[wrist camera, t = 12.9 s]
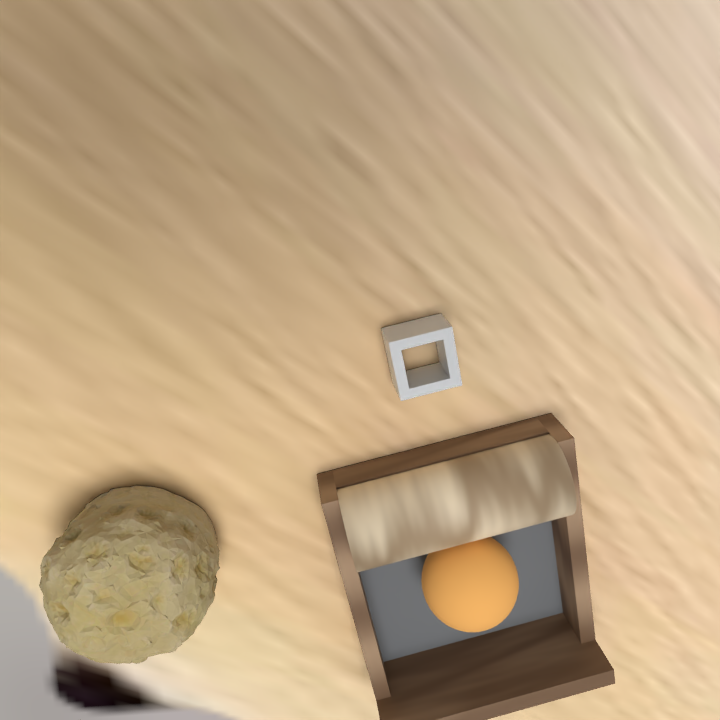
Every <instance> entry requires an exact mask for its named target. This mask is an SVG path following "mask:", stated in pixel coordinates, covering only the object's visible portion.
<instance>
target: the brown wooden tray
mask: <svg viewBox="0 0 720 720" xmlns="http://www.w3.org/2000/svg"><path fill="white" fill-rule="evenodd" d="M534 419H535V420H536V421H535V420H534ZM533 420H534V421H533ZM531 421H532V422H531ZM526 422H527V423H526ZM503 427H504V428H503ZM508 427H509V428H508ZM502 428H503V429H502ZM500 429H501V430H500ZM493 430H494V431H493ZM317 479H318V485H319V492H320V498H321V505H322V508H323V512H324V515H325V519H326V522H327V526H328V530H329V533H330V537H331V540H332V544H333V547H334V551H335V555H336V558H337V562H338V565H339V569H340V572H341V576H342V580H343V583H344V587H345V590H346V594H347V597H348V601H349V605H350V608H351V612H352V615H353V619H354V622H355V626H356V630H357V633H358V637H359V640H360V644H361V647H362V651H363V655H364V658H365V662H366V665H367V669H368V672H369V676H370V680H371V683H372V687H373V690H374V694H375V697H376V701H377V706H378V711H379V716H380V720H487V719H490V718H494V717H497V716H501V715H505V714H508V713H512V712H515V711H519V710H522V709H526V708H529V707H533V706H537V705H540V704H544V703H547V702H551V701H554V700H558V699H561V698H565V697H568V696H572V695H576V694H579V693H583V692H586V691H590V690H593V689H597V688H600V687H604V686H608V685H611V684H615V677H614V669H613V668H612V666H611V664H610V663H609V661H608V660H607V658H606V656H605V655H604V653H603V651H602V650H601V648H600V647H599V645H598V643H597V642H596V640H595V632H594V622H593V613H592V603H591V594H590V584H589V575H588V565H587V556H586V546H585V537H584V527H583V518H582V508H581V499H580V489H579V480H578V470H577V461H576V451H575V442H574V437H573V436H572V435H571V434H570V433H569V432H568V431H567V430H566V429H565V428H564V426H563V425H562V424H561V423H560V422H559V421H558V420H557V419H556V418H555V417H554V416H553V414H552V413H550V414H546V415H542V416H538V417H534V418H530V419H527V420H523V421H519V422H515V423H511V424H507V425H504V426H500V427H496V428H492V429H488V430H484V431H480V432H477V433H473V434H469V435H465V436H461V437H457V438H454V439H450V440H446V441H442V442H438V443H434V444H431V445H427V446H423V447H419V448H415V449H411V450H407V451H404V452H400V453H396V454H392V455H388V456H384V457H381V458H377V459H373V460H369V461H365V462H361V463H357V464H354V465H350V466H346V467H342V468H338V469H334V470H331V471H327V472H323V473H319V474H317ZM548 521H551V523H552V530H553V538H554V546H555V554H556V562H557V570H558V578H559V586H560V594H561V601H562V609H563V613H560V614H556V615H552V616H549V617H545V618H542V619H538V620H534V621H531V622H527V623H523V624H520V625H516V626H512V627H509V628H505V629H502V630H498V631H494V632H491V633H487V634H483V635H480V636H476V637H472V638H469V639H465V640H462V641H458V642H454V643H451V644H447V645H443V646H440V647H436V648H432V649H429V650H425V651H422V652H418V653H414V654H411V655H407V656H403V657H400V658H396V659H392V660H389V661H385V662H383V659H382V655H381V651H380V647H379V644H378V640H377V636H376V632H375V629H374V625H373V621H372V617H371V614H370V610H369V606H368V602H367V599H366V595H365V591H364V587H363V584H362V580H361V576H360V572H361V571H365V570H369V569H372V568H376V567H380V566H384V565H387V564H391V563H395V562H398V561H402V560H406V559H410V558H413V557H417V556H421V555H425V554H428V553H432V552H436V551H440V550H443V549H447V548H451V547H454V546H458V545H462V544H466V543H469V542H473V541H477V540H481V539H484V538H488V537H492V536H495V535H499V534H503V533H507V532H510V531H514V530H518V529H522V528H525V527H529V526H533V525H537V524H540V523H544V522H548Z"/></svg>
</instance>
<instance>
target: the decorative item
mask: <svg viewBox="0 0 720 720" xmlns="http://www.w3.org/2000/svg"><path fill="white" fill-rule="evenodd" d="M218 562H219V549H218V546H217V538H216V532H215V530H214V527H213V525H212V522H211V520H210V519H209V517H208V516H207V514H206V513H205V511H204V510H203V509H201V508H200V507H199V506H198V505H196V504H194V503H192V502H190V501H188V500H186V499H185V498H184V497H181V496H178V495H175V494H173V493H171V492H169V491H166V490H164V489H161V488H156V487H151V486H137V485H136V486H133V487H122V488H116V489H110V491H109V492H108V493H103V494H101V495H100V496H98V497H97V498H95V499H94V500H93V501H92V502H90V503H88V504H86V506H85V508H84V510H83V511H82V512H81V513H80V514H79V515H78V516H77V517H76V518H75V519H73V520H72V521H71V522H70V524H69V526H68V528H67V529H66V531H65V532H64V534H63V536H62V537H59V538H56V541H55V543H54V545H53V546H52V548H51V549H50V550H49V551H48V552H47V554H46V555H45V556H44V558H43V560H42V563H41V576H42V577H41V581H40V585H39V586H40V588H41V591H42V592H43V595H44V597H43V602H44V609H45V611H46V613H47V616H48V618H49V621H50V623H51V624H52V625H53V628H54V630H55V632H56V633H57V635H58V637H59V639H60V641H61V642H62V643H64V644H65V645H66V648H69V649H71V650H72V651H74V652H75V653H77V654H80V655H83V656H85V657H87V658H89V659H90V660H94V661H95V662H99V663H117V664H120V663H132V662H133V663H136V664H137V663H140V662H143V661H145V660H147V657H150V656H154V655H158V654H163V653H170V652H173V651H175V650H176V649H177V648H178V647H179V646H180V645H182V642H184V641H186V640H187V639H188V638H189V637H190V636H191V635H192V634H193V633H194V631H195V629H196V627H197V626H198V625H199V624H200V623H201V621H202V619H203V617H204V616H205V615H206V612H207V610H208V608H209V606H210V605H211V604H212V602H213V600H214V596H215V592H214V591H215V588H216V583H217V578H216V573H217V571H218V570H219V568H220V567H219V565H218Z"/></svg>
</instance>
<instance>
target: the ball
mask: <svg viewBox="0 0 720 720" xmlns="http://www.w3.org/2000/svg"><path fill="white" fill-rule="evenodd" d="M421 582H422V590H423V594H424V597H425V600H426V602H427V604H428V606H429V608H430V609H431V611H432V612H433V613H434V615H435V616H436V617H437V618H438V619H439V620H441V621H442V622H443V623H444V624H446V625H448V626H449V627H451V628H454V629H456V630H459V631H463V632H481V631H485V630H488V629H491V628H493V627H495V626H497V625H498V624H500V623H501V622H502V621H503V620H504V619H505V618H506V617H507V616H508V615H509V614H510V612H511V611H512V609H513V607H514V605H515V602H516V600H517V596H518V590H519V578H518V572H517V569H516V566H515V563H514V561H513V559H512V557H511V556H510V554H509V553H508V551H507V550H506V549H505V548H504V547H503V546H502V545H501V544H500V543H499V542H497V541H496V540H495V539H493V538H491V537H488V538H484V539H481V540H477V541H473V542H469V543H466V544H462V545H458V546H454V547H451V548H447V549H443V550H440V551H436V552H432V553H429V554H428V555H427V557H426V559H425V562H424V565H423V569H422V578H421Z"/></svg>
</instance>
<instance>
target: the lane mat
mask: <svg viewBox="0 0 720 720" xmlns="http://www.w3.org/2000/svg"><path fill="white" fill-rule="evenodd" d="M534 420H535V419H534ZM534 420H533V421H534ZM535 421H536V420H535ZM531 422H532V421H531ZM526 423H527V422H526ZM503 428H504V427H503ZM503 428H502V429H503ZM508 428H509V427H508ZM500 430H501V429H500ZM493 431H494V430H493ZM491 538H493V539H495V540H496V541H497V542H499V543H500V544H501V545H502V546H503V547H504V548H505V549H506V550H507V551H508V553H509V554H510V556H511V557H512V559H513V561H514V563H515V566H516V569H517V572H518V578H519V590H518V596H517V600H516V602H515V605H514V607H513V609H512V611H511V612H510V614H509V615H508V616H507V617H506V618H505V619H504V620H503V621H502V622H501V623H500V624H498V625H497V626H495V627H493V628H491V629H488V630H485V631H481V632H463V631H459V630H456V629H454V628H451V627H449V626H448V625H446V624H444V623H443V622H442V621H441V620H439V619H438V618H437V617H436V616H435V615H434V613H433V612H432V611H431V609H430V608H429V606H428V604H427V602H426V600H425V597H424V594H423V590H422V582H421V578H422V569H423V565H424V562H425V559H426V557H427V555H428V554H429V553H428V554H425V555H421V556H417V557H413V558H410V559H406V560H402V561H398V562H395V563H391V564H387V565H384V566H380V567H376V568H372V569H369V570H365V571H361V572H360V576H361V580H362V584H363V587H364V591H365V595H366V599H367V602H368V606H369V610H370V614H371V617H372V621H373V625H374V629H375V632H376V636H377V640H378V644H379V647H380V651H381V655H382V659H383V662H385V661H389V660H392V659H396V658H400V657H403V656H407V655H411V654H414V653H418V652H422V651H425V650H429V649H432V648H436V647H440V646H443V645H447V644H451V643H454V642H458V641H462V640H465V639H469V638H472V637H476V636H480V635H483V634H487V633H491V632H494V631H498V630H502V629H505V628H509V627H512V626H516V625H520V624H523V623H527V622H531V621H534V620H538V619H542V618H545V617H549V616H552V615H556V614H560V613H563V609H562V601H561V594H560V586H559V578H558V570H557V562H556V554H555V546H554V538H553V530H552V523H551V521H548V522H544V523H540V524H537V525H533V526H529V527H525V528H522V529H518V530H514V531H510V532H507V533H503V534H499V535H495V536H492V537H491Z"/></svg>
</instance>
